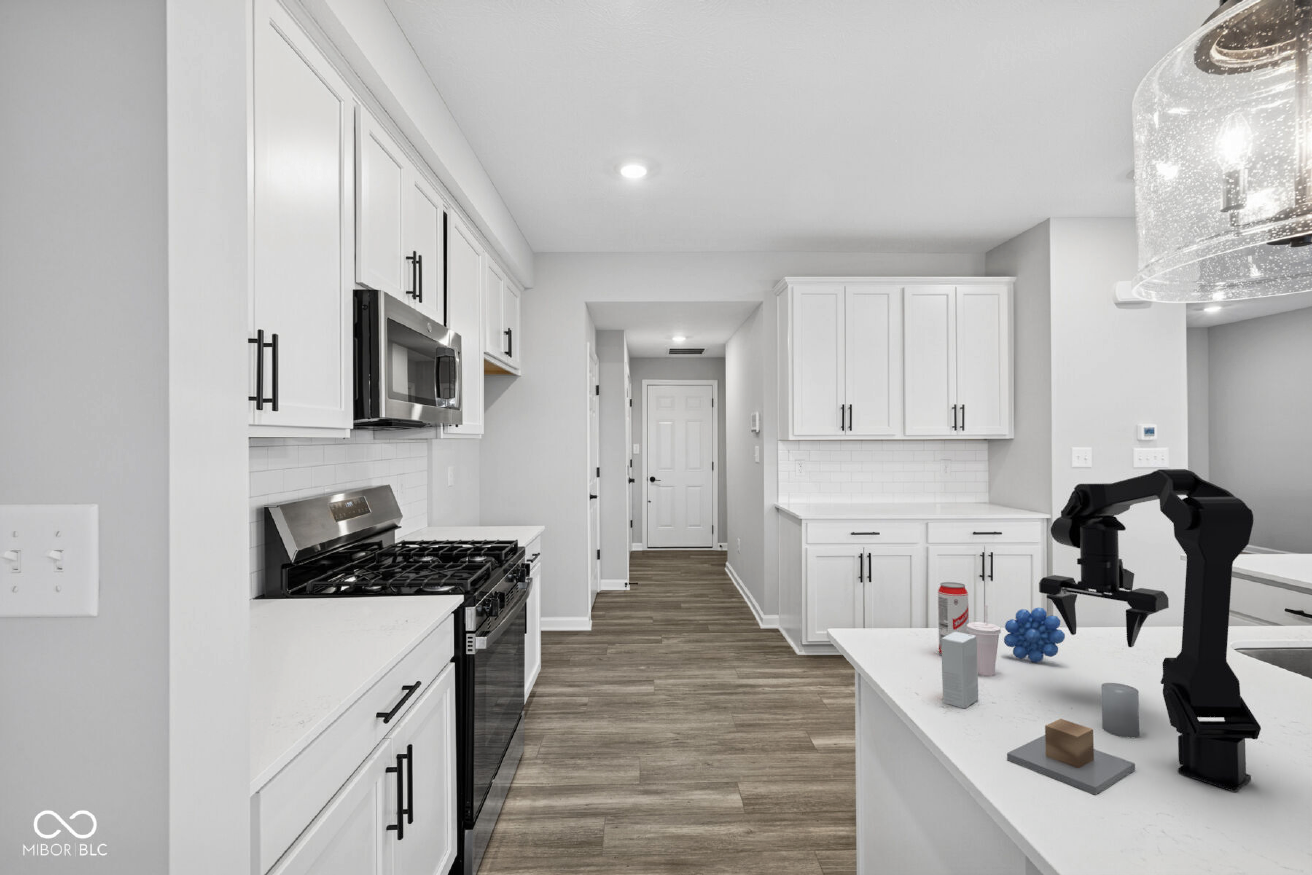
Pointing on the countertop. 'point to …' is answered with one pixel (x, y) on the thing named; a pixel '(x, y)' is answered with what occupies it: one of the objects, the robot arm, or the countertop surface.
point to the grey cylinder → (1120, 710)
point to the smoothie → (985, 644)
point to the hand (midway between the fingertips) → (1101, 640)
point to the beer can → (952, 609)
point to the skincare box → (959, 669)
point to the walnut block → (1069, 743)
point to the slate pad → (1086, 777)
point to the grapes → (1033, 634)
